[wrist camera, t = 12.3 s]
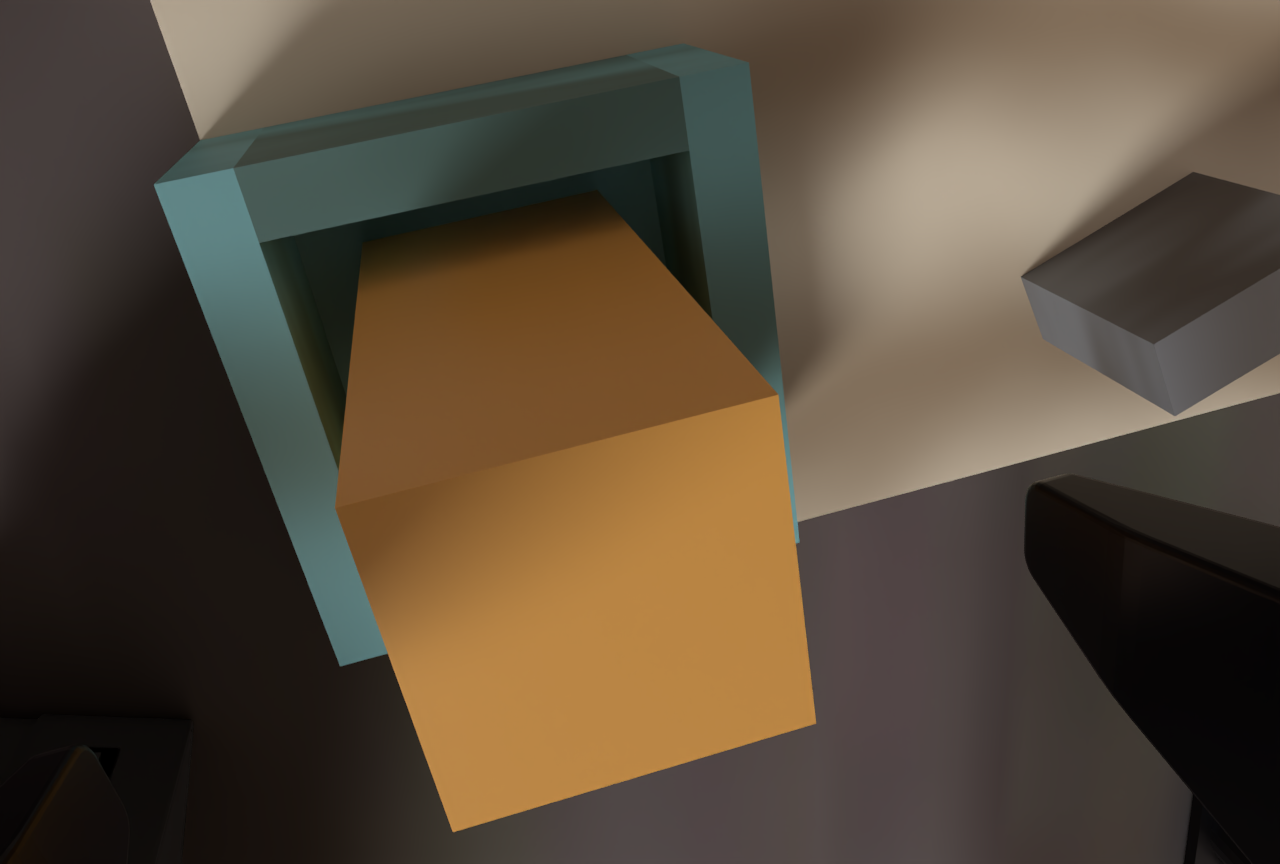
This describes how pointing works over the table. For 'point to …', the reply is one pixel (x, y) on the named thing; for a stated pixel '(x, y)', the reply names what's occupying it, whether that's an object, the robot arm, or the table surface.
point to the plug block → (565, 509)
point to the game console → (121, 770)
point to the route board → (760, 210)
